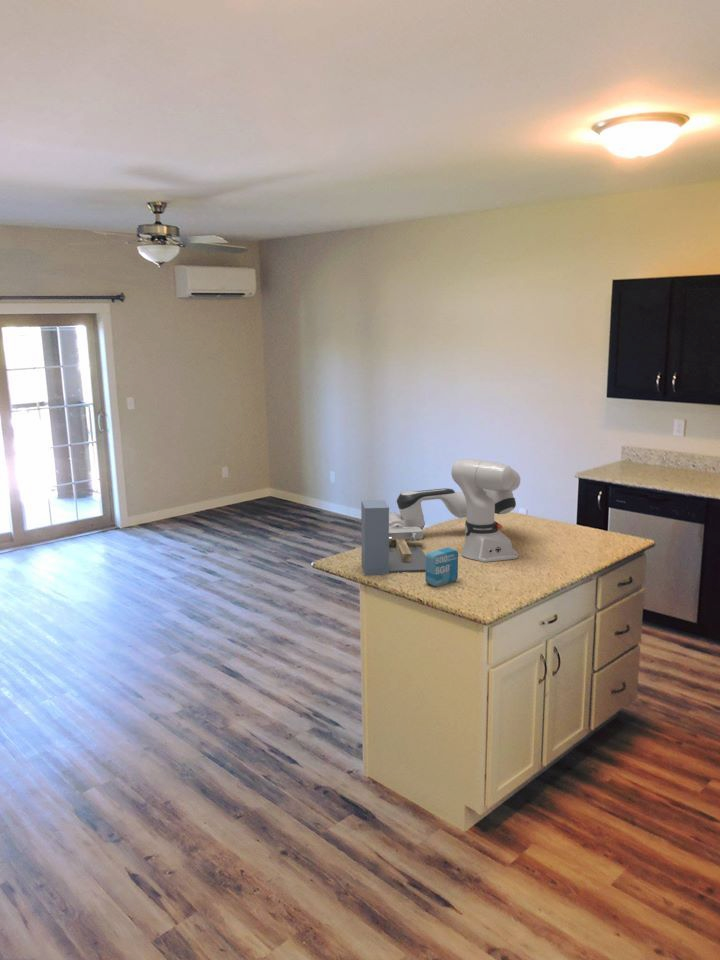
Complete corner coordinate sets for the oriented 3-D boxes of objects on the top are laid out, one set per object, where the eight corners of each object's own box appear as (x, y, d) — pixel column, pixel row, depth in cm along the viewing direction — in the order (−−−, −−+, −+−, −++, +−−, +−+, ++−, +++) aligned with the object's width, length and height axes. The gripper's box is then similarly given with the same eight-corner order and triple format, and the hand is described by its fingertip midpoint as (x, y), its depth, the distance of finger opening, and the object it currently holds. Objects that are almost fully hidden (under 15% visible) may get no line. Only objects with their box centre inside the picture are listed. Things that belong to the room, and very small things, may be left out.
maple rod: (404, 547, 312) (404, 539, 311) (411, 562, 293) (411, 553, 292) (396, 547, 312) (396, 539, 311) (402, 562, 292) (402, 554, 292)
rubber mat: (419, 548, 314) (419, 545, 314) (433, 571, 285) (433, 569, 285) (379, 549, 312) (379, 547, 312) (389, 573, 283) (389, 570, 283)
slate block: (384, 564, 293) (384, 500, 288) (388, 574, 282) (389, 507, 276) (361, 565, 292) (361, 500, 287) (364, 575, 281) (364, 508, 275)
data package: (433, 587, 268) (433, 555, 266) (425, 584, 272) (425, 552, 269) (457, 580, 275) (458, 549, 272) (449, 577, 279) (450, 546, 276)
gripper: (420, 535, 321) (426, 545, 307) (373, 537, 319) (377, 547, 305) (420, 521, 320) (426, 530, 306) (372, 523, 317) (377, 532, 304)
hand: (401, 539), depth 306 cm, fingers open, 8 cm apart
